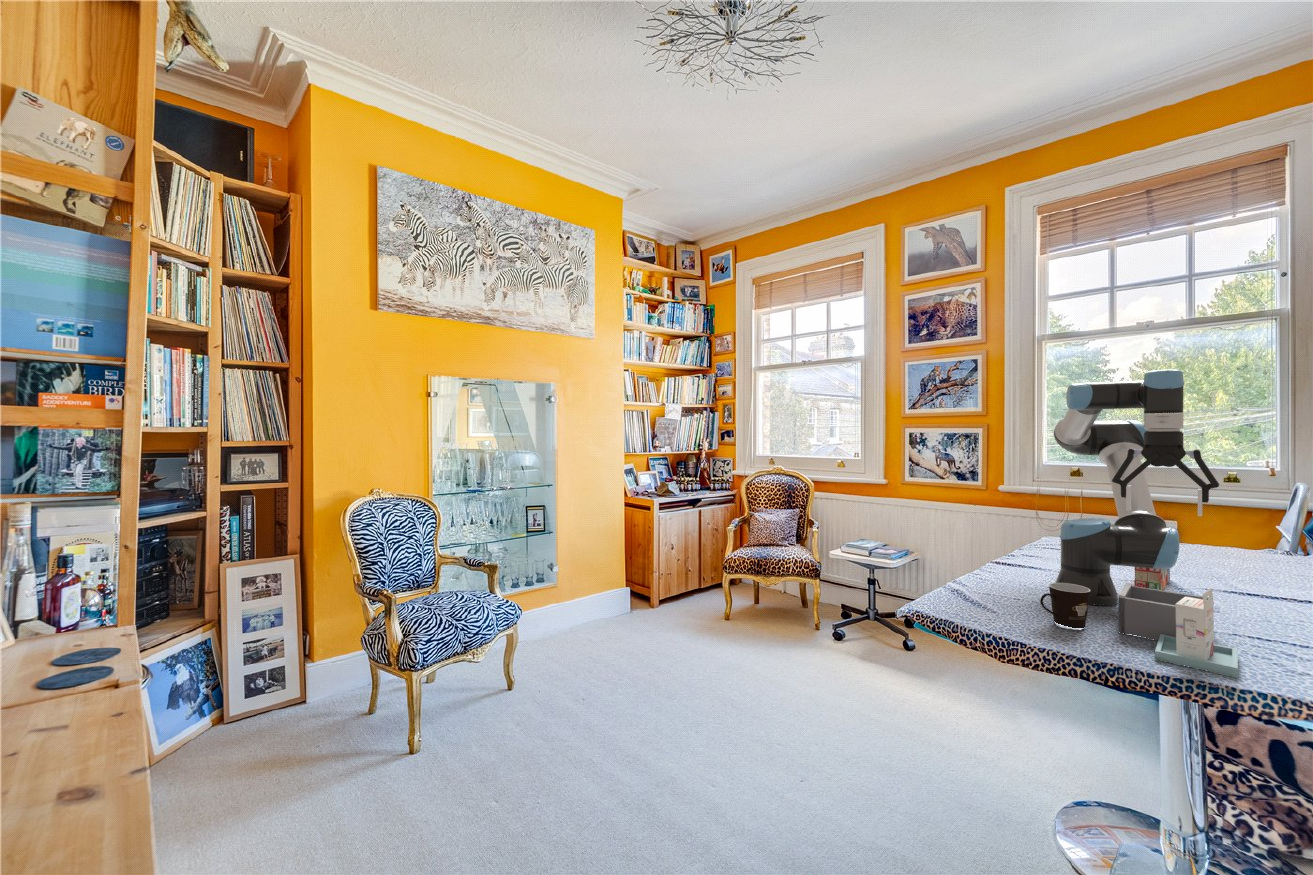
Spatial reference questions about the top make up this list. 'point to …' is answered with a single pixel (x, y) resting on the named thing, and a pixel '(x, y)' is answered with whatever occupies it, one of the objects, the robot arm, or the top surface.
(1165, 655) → the tray
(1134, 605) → the bay
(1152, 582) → the stack of blocks
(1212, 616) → the ink cartridge box
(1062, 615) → the coffee mug
